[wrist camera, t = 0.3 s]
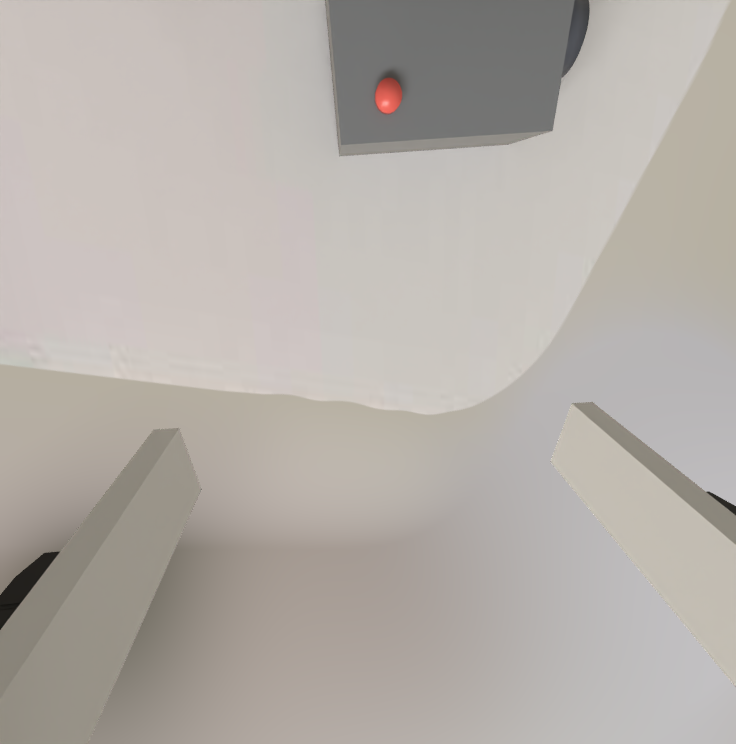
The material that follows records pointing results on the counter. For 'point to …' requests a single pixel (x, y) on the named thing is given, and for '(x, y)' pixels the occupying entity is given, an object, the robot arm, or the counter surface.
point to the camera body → (448, 70)
